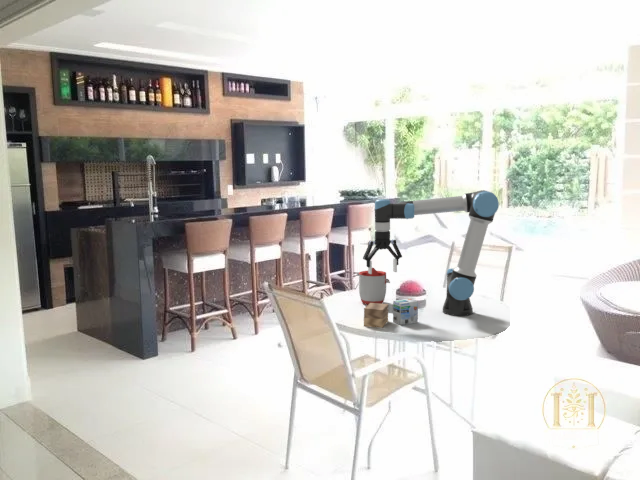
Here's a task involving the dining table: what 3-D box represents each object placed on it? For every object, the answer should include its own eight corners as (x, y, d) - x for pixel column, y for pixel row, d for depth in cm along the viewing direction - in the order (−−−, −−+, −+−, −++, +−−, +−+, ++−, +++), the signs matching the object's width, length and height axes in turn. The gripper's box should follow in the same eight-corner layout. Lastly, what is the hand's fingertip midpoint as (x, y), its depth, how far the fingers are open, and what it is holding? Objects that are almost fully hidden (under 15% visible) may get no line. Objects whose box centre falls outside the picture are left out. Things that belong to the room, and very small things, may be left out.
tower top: (388, 313, 287) (388, 304, 286) (382, 319, 276) (382, 309, 275) (370, 311, 290) (370, 302, 289) (364, 317, 279) (364, 308, 278)
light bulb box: (400, 325, 280) (400, 303, 279) (392, 322, 286) (392, 300, 285) (418, 322, 285) (418, 300, 284) (410, 319, 291) (410, 298, 290)
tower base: (387, 322, 287) (388, 313, 287) (382, 328, 276) (382, 319, 276) (370, 320, 290) (370, 311, 290) (363, 326, 279) (363, 317, 279)
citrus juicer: (389, 307, 315) (389, 270, 313) (357, 305, 318) (357, 269, 316) (390, 300, 331) (390, 265, 328) (359, 299, 333) (359, 264, 331)
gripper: (402, 228, 298) (402, 269, 301) (356, 231, 291) (356, 273, 293) (408, 230, 291) (408, 272, 294) (361, 232, 284) (362, 275, 286)
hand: (382, 272), depth 294 cm, fingers open, 13 cm apart
